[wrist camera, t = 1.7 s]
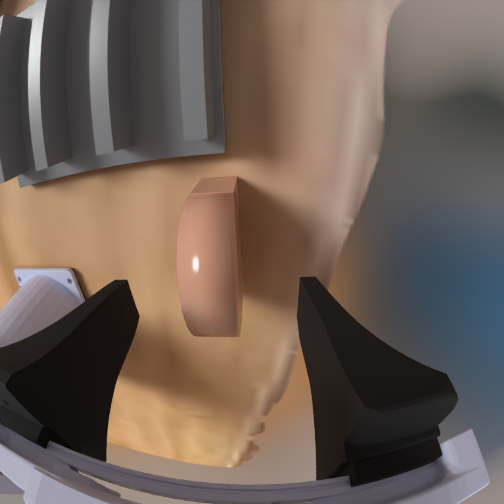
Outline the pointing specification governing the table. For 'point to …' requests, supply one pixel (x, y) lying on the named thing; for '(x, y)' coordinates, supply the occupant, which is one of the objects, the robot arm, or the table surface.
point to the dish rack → (108, 85)
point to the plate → (211, 259)
